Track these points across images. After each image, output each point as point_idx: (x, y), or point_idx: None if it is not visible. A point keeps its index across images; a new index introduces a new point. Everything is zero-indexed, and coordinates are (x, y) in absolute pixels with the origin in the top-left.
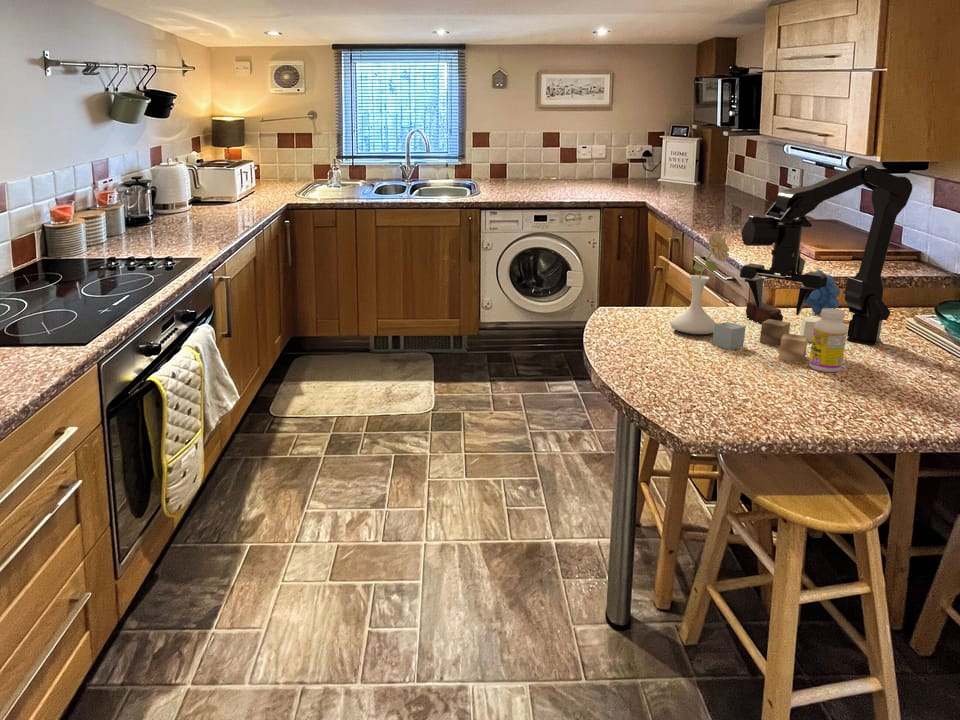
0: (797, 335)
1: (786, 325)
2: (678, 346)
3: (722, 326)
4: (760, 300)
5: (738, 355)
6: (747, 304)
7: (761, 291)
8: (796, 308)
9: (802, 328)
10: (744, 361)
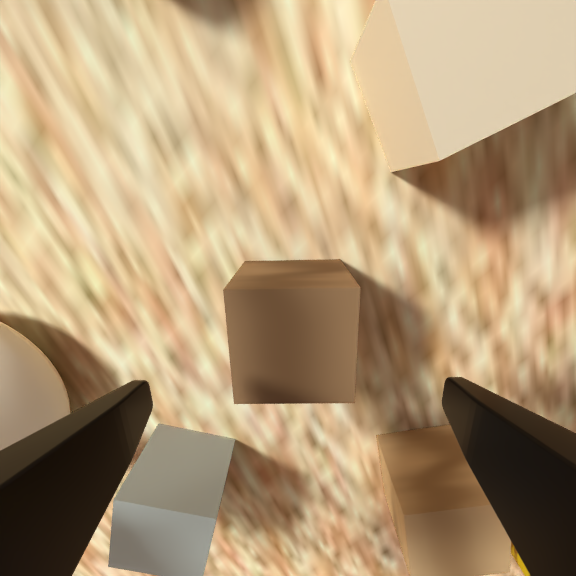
0: (463, 514)
1: (356, 347)
2: (100, 550)
3: (150, 573)
4: (111, 448)
5: (271, 527)
6: None
7: (12, 511)
8: (471, 469)
9: (385, 95)
10: (310, 562)
